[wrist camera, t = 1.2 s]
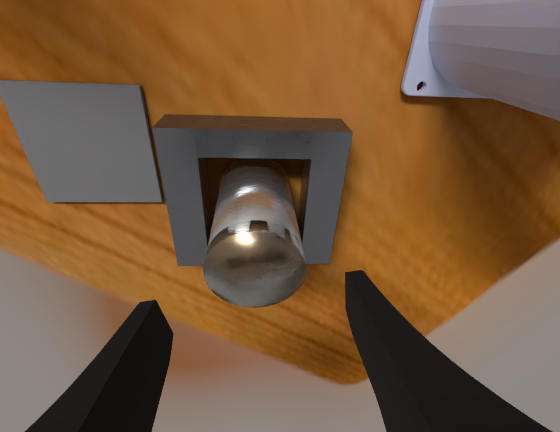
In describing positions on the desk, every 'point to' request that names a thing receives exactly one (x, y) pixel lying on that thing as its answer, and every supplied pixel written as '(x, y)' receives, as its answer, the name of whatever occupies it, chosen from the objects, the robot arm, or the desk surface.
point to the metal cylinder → (254, 236)
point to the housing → (251, 144)
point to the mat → (85, 140)
